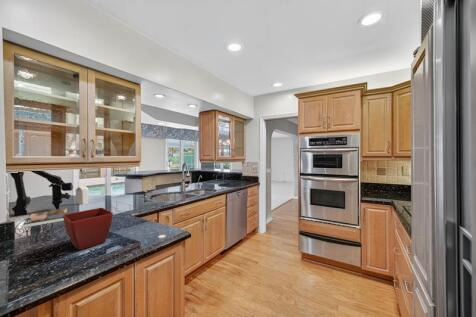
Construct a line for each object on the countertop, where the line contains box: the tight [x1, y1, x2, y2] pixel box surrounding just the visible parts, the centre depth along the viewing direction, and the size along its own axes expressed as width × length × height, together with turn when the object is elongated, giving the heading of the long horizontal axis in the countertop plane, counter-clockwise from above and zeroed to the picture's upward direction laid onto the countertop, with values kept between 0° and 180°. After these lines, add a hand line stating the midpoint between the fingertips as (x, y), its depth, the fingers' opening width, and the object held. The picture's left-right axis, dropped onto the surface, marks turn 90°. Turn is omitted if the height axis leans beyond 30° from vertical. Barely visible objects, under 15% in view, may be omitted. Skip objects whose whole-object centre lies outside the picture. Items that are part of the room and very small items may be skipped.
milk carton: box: [75, 184, 90, 205], centre depth 195 cm, size 7×7×19 cm
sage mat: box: [21, 216, 64, 229], centre depth 154 cm, size 26×22×1 cm
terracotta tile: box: [29, 214, 48, 223], centre depth 152 cm, size 8×10×2 cm
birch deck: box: [28, 208, 68, 219], centre depth 165 cm, size 22×14×2 cm, turn 131°
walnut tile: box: [50, 207, 65, 216], centre depth 165 cm, size 8×10×2 cm
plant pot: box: [62, 207, 114, 251], centre depth 114 cm, size 19×19×17 cm
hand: (57, 209), depth 169 cm, fingers closed
